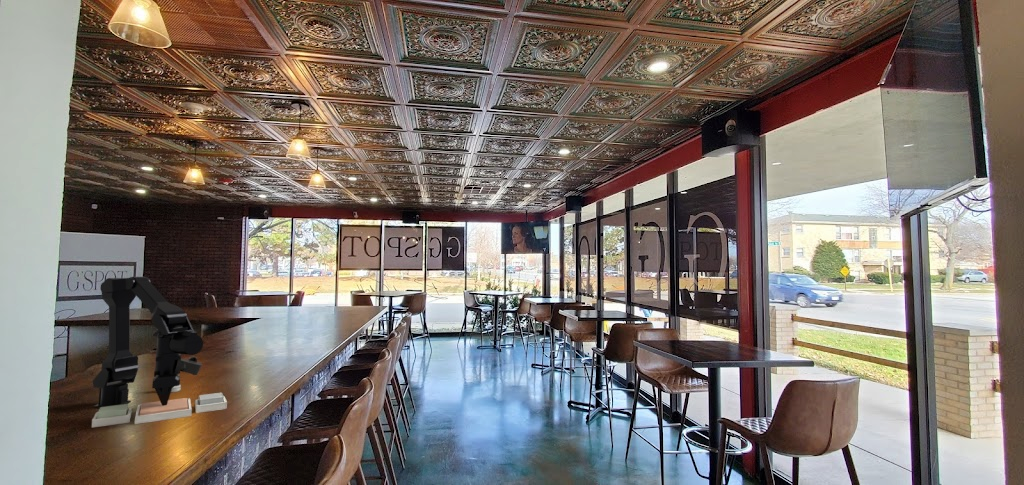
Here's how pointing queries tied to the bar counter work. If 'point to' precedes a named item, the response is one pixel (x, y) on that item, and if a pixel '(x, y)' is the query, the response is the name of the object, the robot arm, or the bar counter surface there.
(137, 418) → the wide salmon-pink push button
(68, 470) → the bar counter surface
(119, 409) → the sage button
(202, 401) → the grey button
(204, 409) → the grey collar
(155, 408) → the terracotta button
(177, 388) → the rook chess piece
